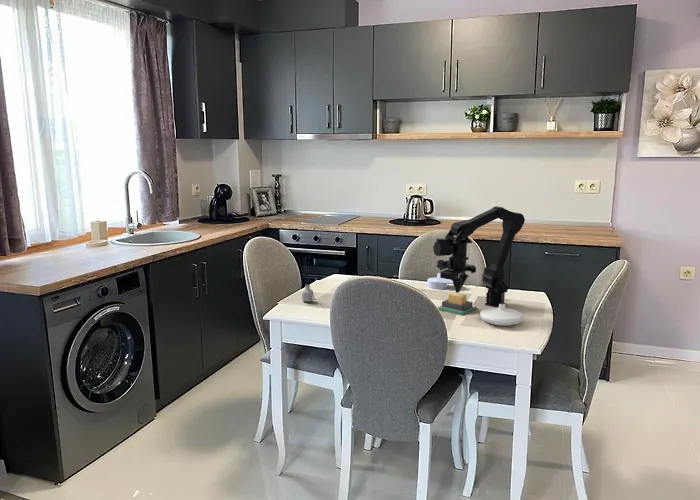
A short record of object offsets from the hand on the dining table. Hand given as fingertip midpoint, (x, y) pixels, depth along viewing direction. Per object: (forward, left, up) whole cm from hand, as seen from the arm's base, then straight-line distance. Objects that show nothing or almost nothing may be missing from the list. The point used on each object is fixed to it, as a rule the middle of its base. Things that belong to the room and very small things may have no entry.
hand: (457, 292), depth 222 cm
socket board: (0, 0, -7) cm, 7 cm away
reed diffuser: (+54, +32, -7) cm, 63 cm away
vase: (-21, +4, -7) cm, 23 cm away
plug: (0, 0, -6) cm, 6 cm away
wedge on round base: (+23, -26, -7) cm, 36 cm away
